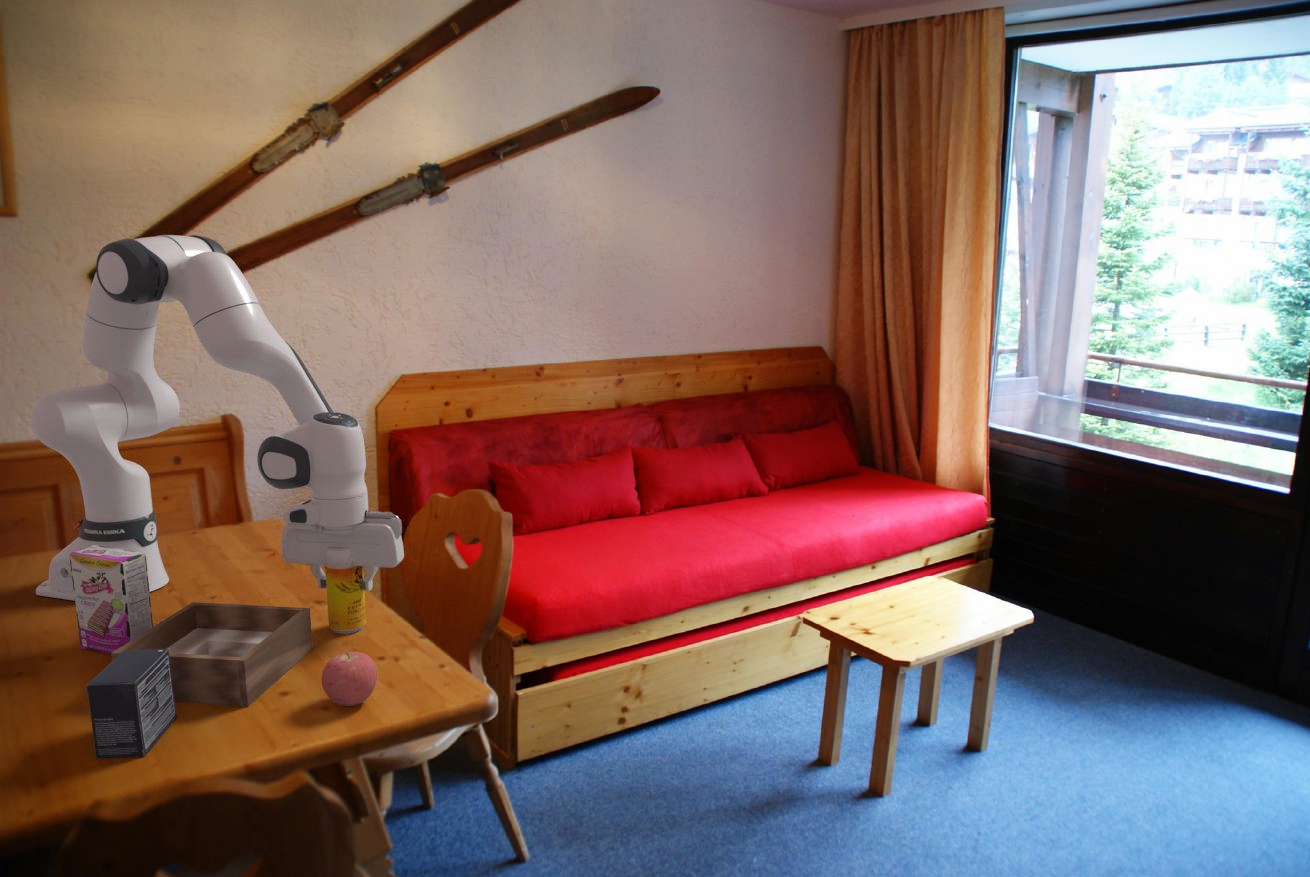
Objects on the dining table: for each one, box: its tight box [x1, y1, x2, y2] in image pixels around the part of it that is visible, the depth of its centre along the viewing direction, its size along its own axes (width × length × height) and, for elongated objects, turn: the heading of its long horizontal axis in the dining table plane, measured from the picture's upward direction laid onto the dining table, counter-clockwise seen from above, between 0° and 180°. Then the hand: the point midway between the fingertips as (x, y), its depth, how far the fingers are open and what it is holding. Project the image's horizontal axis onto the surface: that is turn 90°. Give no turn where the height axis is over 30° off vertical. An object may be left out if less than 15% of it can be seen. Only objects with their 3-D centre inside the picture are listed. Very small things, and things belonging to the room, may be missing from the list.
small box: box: [86, 649, 178, 760], centre depth 126 cm, size 11×6×10 cm, turn 5°
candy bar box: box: [69, 545, 154, 655], centre depth 153 cm, size 11×5×16 cm, turn 71°
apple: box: [321, 651, 378, 707], centre depth 136 cm, size 7×7×8 cm
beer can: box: [324, 547, 367, 635], centre depth 162 cm, size 6×6×15 cm
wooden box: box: [110, 601, 313, 708], centre depth 146 cm, size 20×20×7 cm
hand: (345, 588), depth 162 cm, fingers closed on beer can, 6 cm apart
